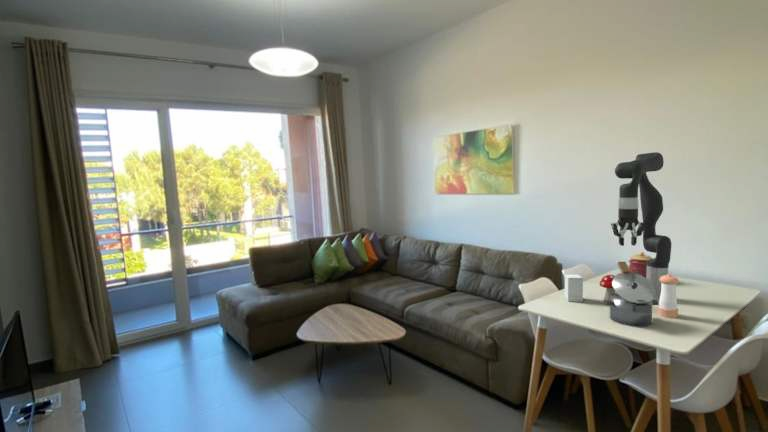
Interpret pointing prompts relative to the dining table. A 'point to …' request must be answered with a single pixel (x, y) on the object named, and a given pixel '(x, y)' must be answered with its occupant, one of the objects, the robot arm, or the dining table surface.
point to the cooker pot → (630, 311)
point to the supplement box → (574, 288)
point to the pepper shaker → (668, 297)
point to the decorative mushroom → (607, 286)
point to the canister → (639, 264)
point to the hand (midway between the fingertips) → (627, 245)
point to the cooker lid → (633, 286)
